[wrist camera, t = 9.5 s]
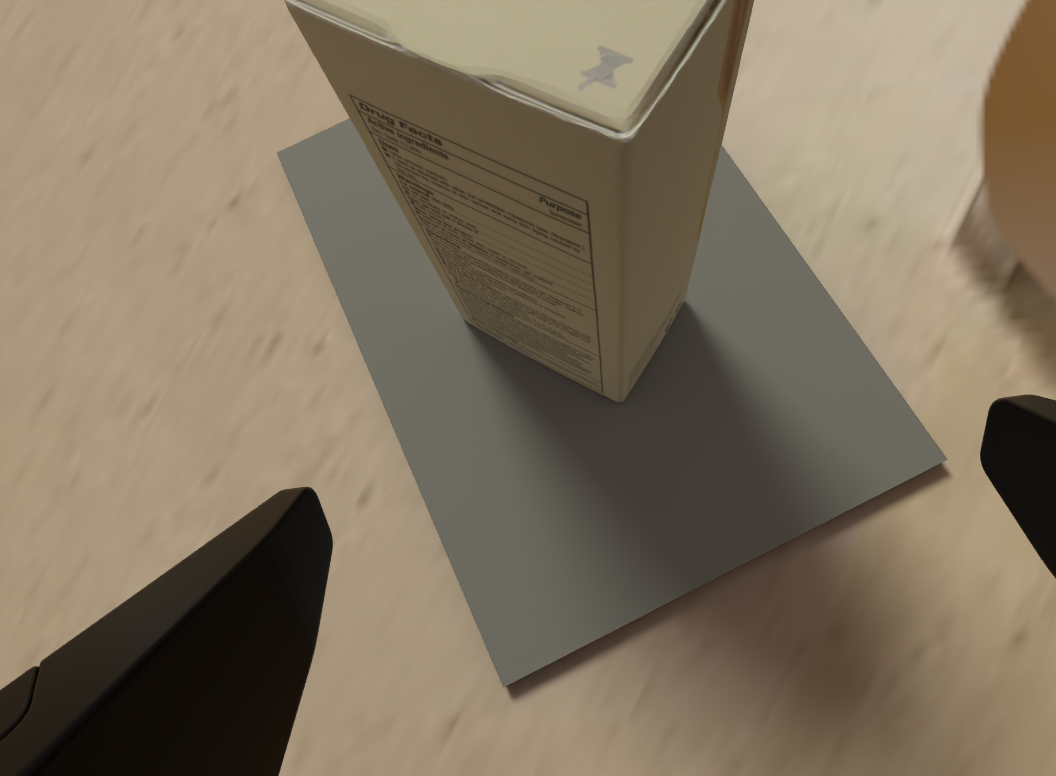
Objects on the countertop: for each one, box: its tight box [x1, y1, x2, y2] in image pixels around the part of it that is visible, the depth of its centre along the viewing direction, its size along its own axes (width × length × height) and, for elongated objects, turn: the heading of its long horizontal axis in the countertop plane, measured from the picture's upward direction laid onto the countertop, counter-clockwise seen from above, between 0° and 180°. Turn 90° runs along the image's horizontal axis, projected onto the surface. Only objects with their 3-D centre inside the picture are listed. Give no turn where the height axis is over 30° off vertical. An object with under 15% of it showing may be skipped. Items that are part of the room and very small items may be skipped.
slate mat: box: [277, 118, 948, 687], centre depth 21 cm, size 20×14×1 cm
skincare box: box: [284, 0, 754, 402], centre depth 15 cm, size 6×4×12 cm
